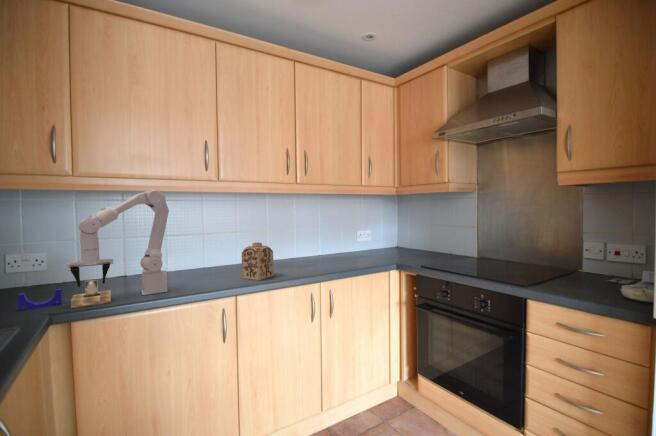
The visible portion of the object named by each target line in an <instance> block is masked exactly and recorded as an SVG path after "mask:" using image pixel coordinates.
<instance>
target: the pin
mask: <svg viewBox="0 0 656 436" xmlns="http://www.w3.org/2000/svg"><path fill="white" fill-rule="evenodd" d="M98 283H99V282H98V279H90V280H85V281H84V291H85V293H84V294H85V296H86V297H93V296H98V292H99V284H98Z"/></svg>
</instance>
